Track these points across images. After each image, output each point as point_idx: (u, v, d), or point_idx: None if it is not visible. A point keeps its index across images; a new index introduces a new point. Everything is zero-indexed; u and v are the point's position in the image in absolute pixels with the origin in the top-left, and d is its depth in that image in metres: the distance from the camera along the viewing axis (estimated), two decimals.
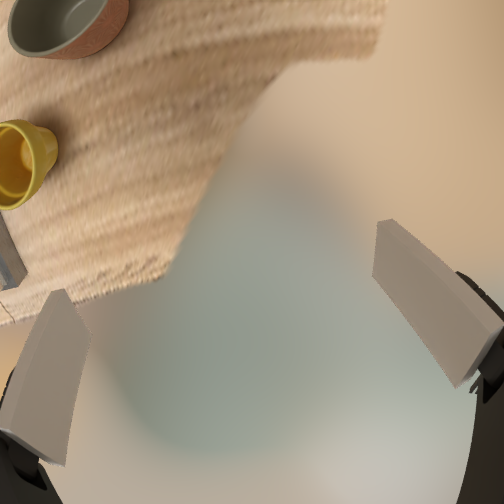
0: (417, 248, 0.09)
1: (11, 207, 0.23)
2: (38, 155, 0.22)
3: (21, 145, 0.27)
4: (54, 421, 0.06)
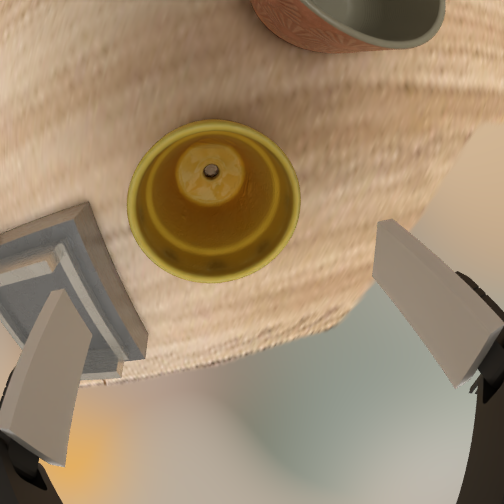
0: (417, 248, 0.09)
1: (223, 279, 0.19)
2: None
3: (179, 159, 0.22)
4: (54, 421, 0.06)
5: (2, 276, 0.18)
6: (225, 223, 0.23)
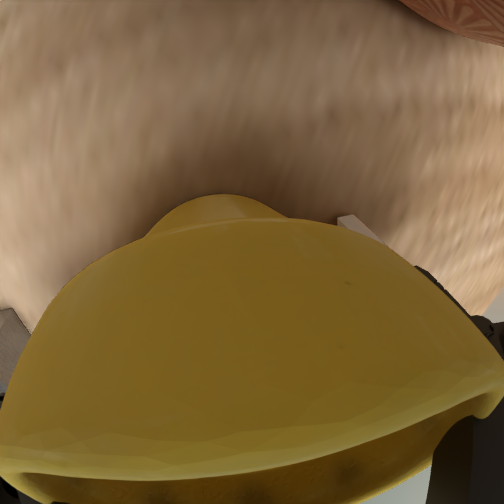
0: None
1: None
2: None
3: None
4: None
5: None
6: None
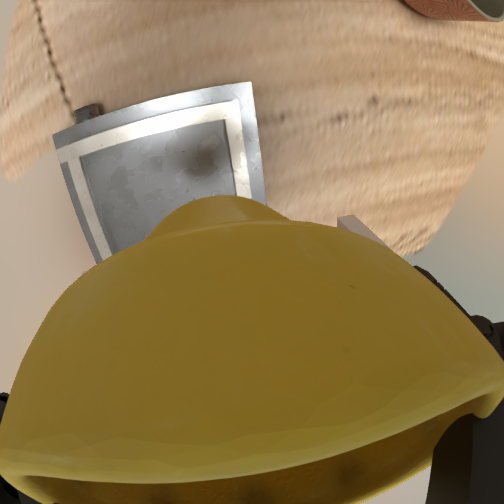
0: None
1: None
2: None
3: None
4: None
5: (148, 122, 0.18)
6: None
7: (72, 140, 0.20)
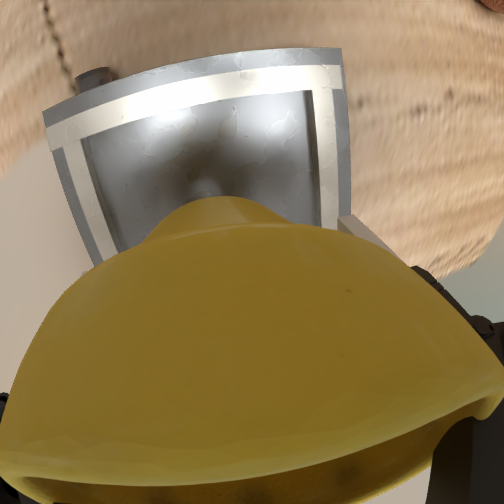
0: (372, 242, 0.09)
1: None
2: None
3: None
4: None
5: (206, 82, 0.10)
6: None
7: None
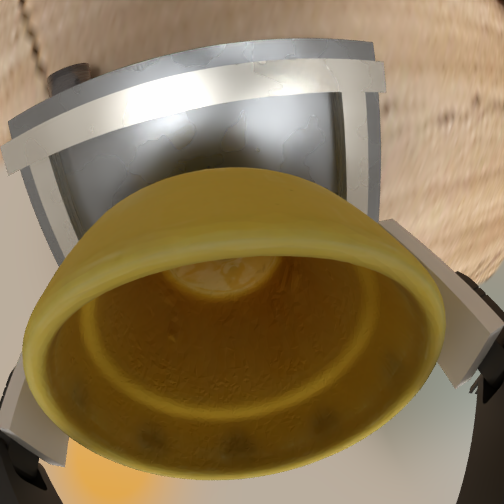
0: (417, 248, 0.09)
1: (251, 476, 0.08)
2: None
3: None
4: None
5: (206, 77, 0.07)
6: (247, 345, 0.12)
7: None
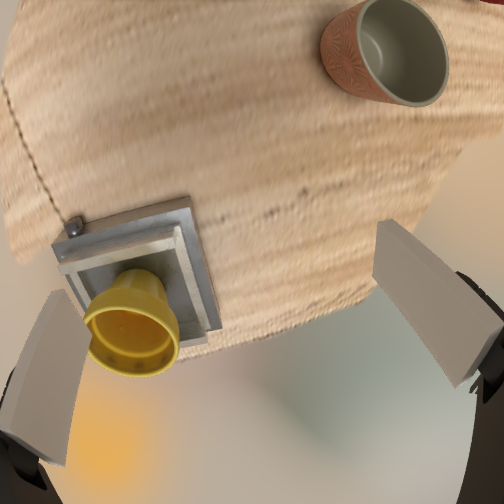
0: (417, 248, 0.09)
1: (141, 376, 0.27)
2: (178, 338, 0.27)
3: None
4: (54, 421, 0.06)
5: (117, 253, 0.27)
6: (148, 332, 0.32)
7: (66, 250, 0.29)
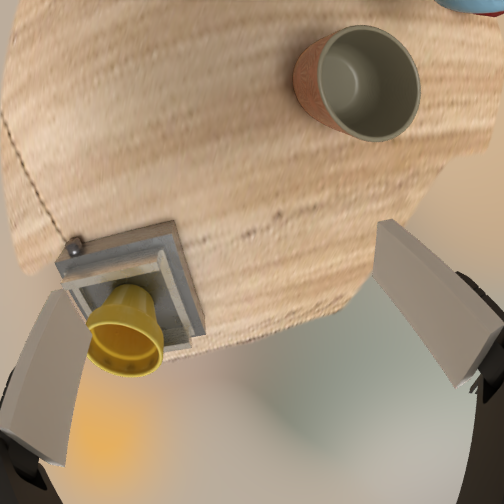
0: (417, 248, 0.09)
1: (132, 376, 0.32)
2: (162, 346, 0.31)
3: None
4: (54, 421, 0.06)
5: (110, 274, 0.31)
6: (139, 338, 0.36)
7: (68, 267, 0.33)
